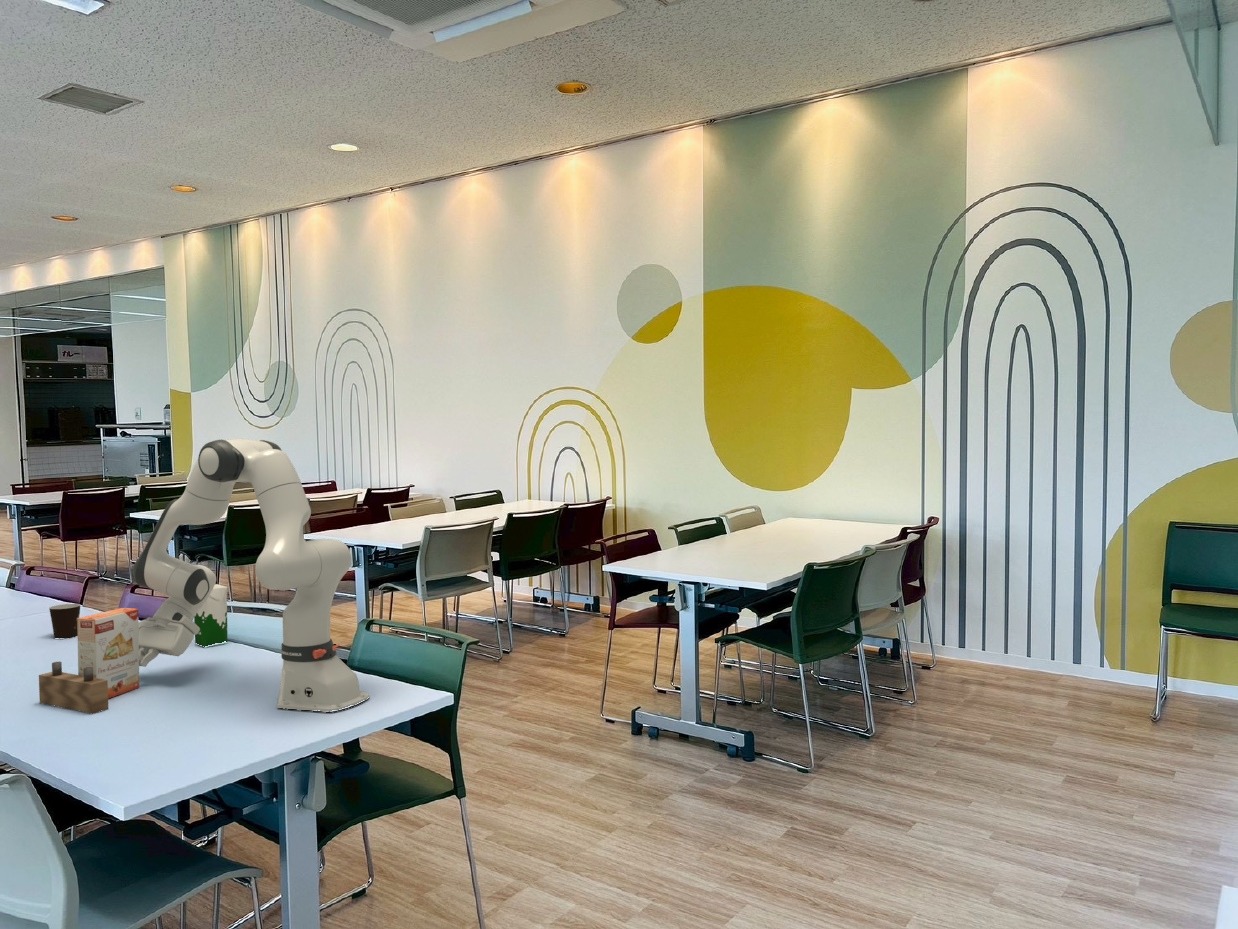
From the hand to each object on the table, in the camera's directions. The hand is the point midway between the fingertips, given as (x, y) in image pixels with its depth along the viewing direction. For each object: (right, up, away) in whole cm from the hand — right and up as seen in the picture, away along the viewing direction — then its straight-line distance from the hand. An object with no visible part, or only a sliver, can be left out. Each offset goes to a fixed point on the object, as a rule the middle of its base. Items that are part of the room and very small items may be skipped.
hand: (139, 665), depth 232 cm
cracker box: (-4, -6, -7) cm, 10 cm away
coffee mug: (-55, -4, +59) cm, 81 cm away
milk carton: (-2, -4, +46) cm, 46 cm away
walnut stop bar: (-7, -6, -16) cm, 18 cm away
